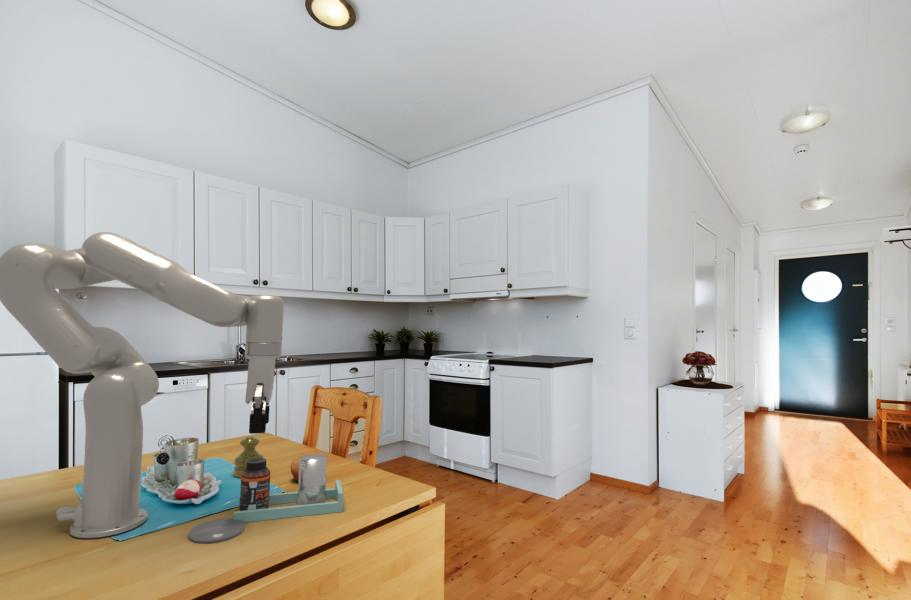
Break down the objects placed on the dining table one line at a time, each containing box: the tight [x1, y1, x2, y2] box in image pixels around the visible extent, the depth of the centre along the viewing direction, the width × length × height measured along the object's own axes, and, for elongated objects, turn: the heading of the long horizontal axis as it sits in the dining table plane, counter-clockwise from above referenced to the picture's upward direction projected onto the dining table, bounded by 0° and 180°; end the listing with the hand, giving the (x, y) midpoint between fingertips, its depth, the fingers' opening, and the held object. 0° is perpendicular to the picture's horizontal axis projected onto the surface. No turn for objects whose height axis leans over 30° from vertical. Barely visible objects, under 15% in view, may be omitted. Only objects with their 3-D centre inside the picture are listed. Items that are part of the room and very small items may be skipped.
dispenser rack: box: [233, 479, 344, 523], centre depth 103 cm, size 22×10×4 cm, turn 108°
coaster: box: [187, 517, 246, 544], centre depth 91 cm, size 10×10×1 cm
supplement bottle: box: [238, 458, 271, 511], centre depth 101 cm, size 6×6×11 cm
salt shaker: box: [233, 436, 264, 479], centre depth 126 cm, size 7×7×10 cm
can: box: [297, 453, 328, 505], centre depth 105 cm, size 6×6×11 cm
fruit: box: [290, 452, 317, 482], centre depth 123 cm, size 8×8×8 cm
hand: (259, 428), depth 102 cm, fingers open, 9 cm apart
